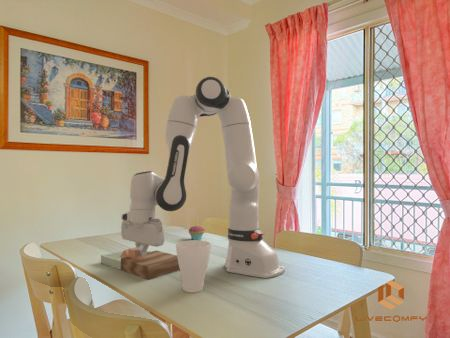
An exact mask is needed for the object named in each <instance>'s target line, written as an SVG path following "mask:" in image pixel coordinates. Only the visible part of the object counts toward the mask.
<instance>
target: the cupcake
mask: <svg viewBox="0 0 450 338" xmlns="http://www.w3.org/2000/svg"><path fill="white" fill-rule="evenodd" d="M205 233H206V231H205V228H204V227H202V226H199V225H198V218H197V217H195V225H194V226H191V227H190V228H189V229H188V234H189V235H190V238H191V240H192V239H193V240H200V239H201V240H202V237H203V235H204V234H205ZM201 240H200V241H201Z"/></svg>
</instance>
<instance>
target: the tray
mask: <svg viewBox="0 0 450 338" xmlns="http://www.w3.org/2000/svg"><path fill="white" fill-rule="evenodd" d="M123 252H124V250H120V251H115V252H110V253H107V254H106V253H105V254H101V255H100V264H102V265H106V266H108V267H111V268H113V269H118V270H120V271H122V270H121V257H120V256H121V254H122V253H123ZM148 252H151V251H150V250H146V253H148Z"/></svg>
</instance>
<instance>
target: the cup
mask: <svg viewBox="0 0 450 338" xmlns="http://www.w3.org/2000/svg"><path fill="white" fill-rule="evenodd" d="M175 248H176V250H175V252H176V255H177V258H178V264H179V268H180V270H179V271H180V277H181V281H182V290H183V292H186V293H191V294H193V293H195V294H196V293H200V292H202V291H203V289H204V284H205V283H204V282H205V277H206V273H207V270H208V266H209V262H210V261H209V260H210V255H211V251H212V250H211V249H212V243H211V242H210V241H207V240H192V239H189V240H181V241H179V242H177V243H175Z"/></svg>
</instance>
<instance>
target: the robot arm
mask: <svg viewBox="0 0 450 338" xmlns="http://www.w3.org/2000/svg"><path fill="white" fill-rule="evenodd" d="M216 114H217V115H218V118H219V119H220V124H221V131H222V138H223V144H224V150H225V151H224V152H225V164H226V175H227V181H228V184H229V186H230V200H229V206H228V207H229V208H228V209H229V210H228V211H229V212H228V213H229V215H228V217H229V220H228V221H229V222H228V224H229V225H228V228H227V239H228V244H227V245H228V247H227V253H226V258H225V262H224V265H223V266H224V268H225V269H226V270H225V271H226V272H227V273H232V274H238V275H245V276H251V277H257V278H263V279H270V278H273V277H277V276H280V275H282V274H283V273H284V272H285V271H286V268H285V266H284V265H280V264H279V256H278V253H277V252H276V251H275V250H274V249H273V248H272V247H271V246H270V245H269V244H268V243H267V242H266V241H265V240H264V238H263V236H265V235H266V234H265V231H261V230H260V228H259V224H260V223H259V221H260V217H259V216H260V215H259V213H260V209H259V207H260V172H259V170H258V165H257V158H256V150H255V149H256V148H255V142H254V136H253V131H252V123H251V119H250V115H249V112H248V108H247V105H246V103H245V101H244V99H242V98H240V97H238V96H237V97H236V96H233V97H231V93H230V91H229V90H228V89H227V88H226V86H225V85H224V83H223V82H222V81H221V80H220V79H218V78H217V77H214V76H207V77H204V78H203V79H201V80H200V81H199V82H198V83H197V85H196V87H195V94H193V95H190V96H189V95H184V94H183V95H179V96H177V97H175V98H174V100H173V102H172V105H171V107H170V110H169V113H168V116H167V121H166V125H165V142H166V144H167V147H168V152H169V155H168V160H167V161H168V162H167V166H166V173H165V177H162V176H160V175H158V174H156V173H155V172H154V171H152V170H151V171H150V170H148V171H142V172H137V173H134V174H133V176H132V177H131V181H130V191H129V197H130V200H131V201H130V205H129V211H128V212H124V213H122V214H121V216H120V218H121V221H122V222H121V231H120V232H121V238H122V240H125V241H129V242H134V244H135V245H134V246H135V247H136V248H137V254H138V255H141V256H146V251H148V249H149V247H156V248H157V247H161V246H163V245H164V243H165V232H164V227H163V223H162V221H161V219H159V218H156V206H159V208H161V209H162V210H164V211H166V212H175V211H177V210H180V209H181V208H182V207H183V206H184V204H185V203H186V200H187V190H186V186H185V177H186V176H185V174H186V170H187V169H186V168H187V163H188V158H189V153H190V150H191V147H192V144H193V142H194V139H195V135H196V131H197V126H198V121H199V118H200V117H211V116H214V115H216Z"/></svg>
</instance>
